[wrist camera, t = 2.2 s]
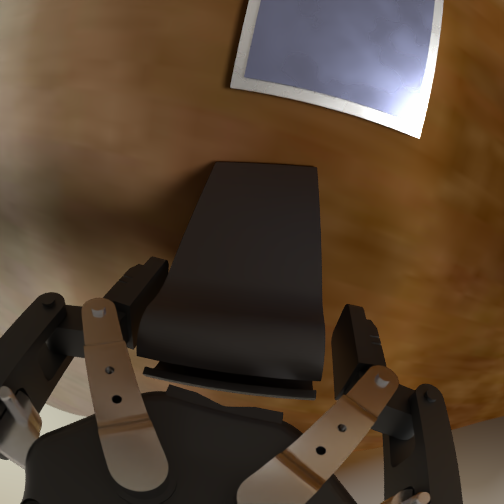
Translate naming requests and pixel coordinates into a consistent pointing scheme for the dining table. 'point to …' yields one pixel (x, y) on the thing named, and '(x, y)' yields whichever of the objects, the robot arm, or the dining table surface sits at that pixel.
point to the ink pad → (344, 56)
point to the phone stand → (244, 288)
